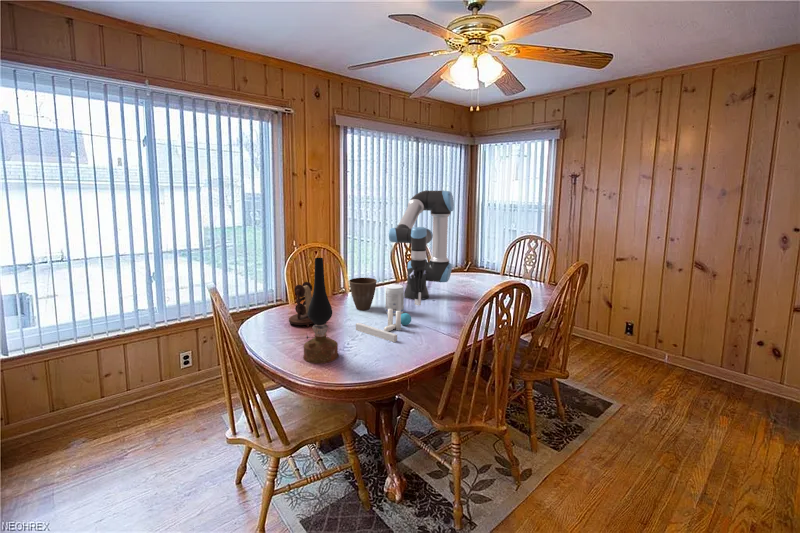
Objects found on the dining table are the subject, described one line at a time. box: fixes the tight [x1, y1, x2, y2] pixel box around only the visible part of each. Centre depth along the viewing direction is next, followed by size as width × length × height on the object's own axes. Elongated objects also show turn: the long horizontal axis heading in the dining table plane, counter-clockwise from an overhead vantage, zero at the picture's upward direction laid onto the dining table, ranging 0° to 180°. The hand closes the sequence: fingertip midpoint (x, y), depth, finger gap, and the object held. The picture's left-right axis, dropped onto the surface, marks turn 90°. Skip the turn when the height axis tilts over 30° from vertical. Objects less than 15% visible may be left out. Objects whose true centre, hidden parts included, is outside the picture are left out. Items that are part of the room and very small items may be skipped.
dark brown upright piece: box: [288, 281, 314, 328], centre depth 203 cm, size 15×15×20 cm
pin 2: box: [395, 311, 402, 331], centre depth 196 cm, size 2×2×9 cm
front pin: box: [383, 323, 396, 332], centre depth 197 cm, size 2×2×9 cm
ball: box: [401, 312, 412, 326], centre depth 203 cm, size 6×6×6 cm
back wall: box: [355, 322, 398, 343], centre depth 188 cm, size 2×24×3 cm, turn 49°
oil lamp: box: [302, 257, 339, 364], centre depth 163 cm, size 14×15×40 cm
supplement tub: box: [385, 284, 405, 316], centre depth 222 cm, size 10×10×15 cm
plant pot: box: [348, 277, 377, 311], centre depth 229 cm, size 15×15×16 cm
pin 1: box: [387, 309, 394, 326], centre depth 199 cm, size 2×2×9 cm
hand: (417, 304), depth 210 cm, fingers closed
